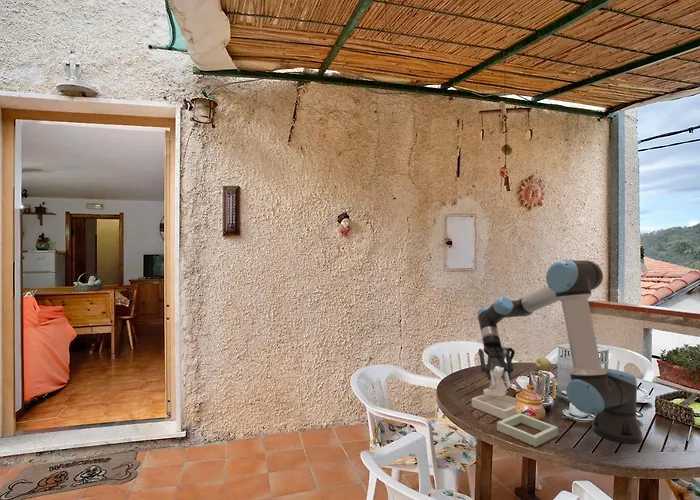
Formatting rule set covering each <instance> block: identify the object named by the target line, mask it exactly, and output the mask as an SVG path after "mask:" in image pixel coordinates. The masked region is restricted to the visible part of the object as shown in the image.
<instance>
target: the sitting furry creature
mask: <svg viewBox="0 0 700 500" xmlns="http://www.w3.org/2000/svg"><path fill="white" fill-rule="evenodd" d="M503 371H504V368H503V367H502V368H501V367H499V366H496V367H495V369H493V378H494V383H495V386H494V388H492V387H491V384H490V385H489V387H486V388H483V395H491V396H503V395H506V394H507V393H508V391H507V390H508V389H507V385H506V384H505V383H504V379H503V377H501V376H502V375H503Z"/></svg>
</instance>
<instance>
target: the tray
mask: <svg viewBox="0 0 700 500" xmlns="http://www.w3.org/2000/svg"><path fill="white" fill-rule="evenodd" d="M516 399H517V398H515V397H512V396H511V395H506V394H505V395H503V396H491V395H484V394H481V395H478V396H475V397H472V398H471V407H472V408H474V409H477V410H479V411H481V412H483V413H487V414H489V415H492V416H494V417H496V418H499V419H501V420H504V419H506V418H509V417H511V416H514V415H516V414H515V408H516V406H515V404H516Z"/></svg>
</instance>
